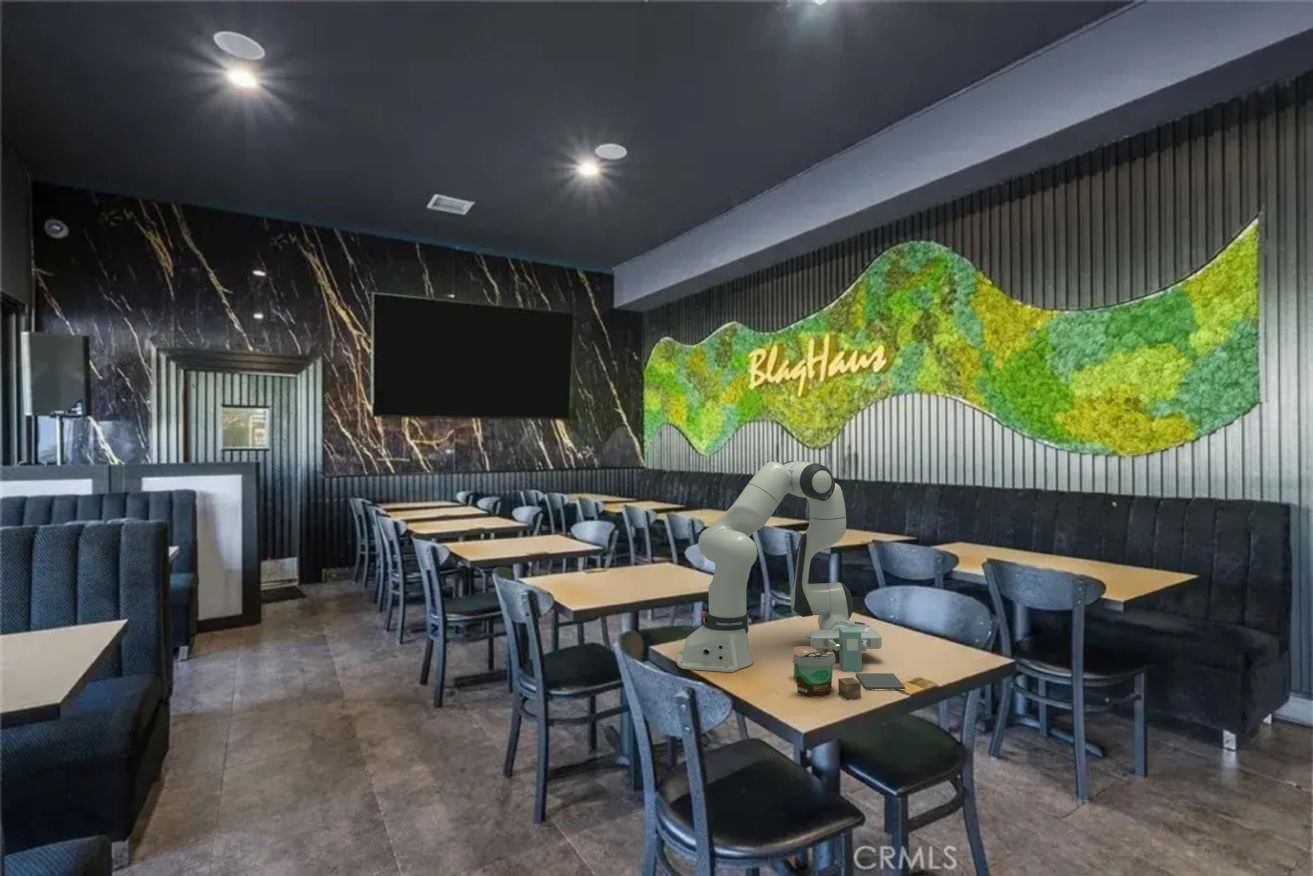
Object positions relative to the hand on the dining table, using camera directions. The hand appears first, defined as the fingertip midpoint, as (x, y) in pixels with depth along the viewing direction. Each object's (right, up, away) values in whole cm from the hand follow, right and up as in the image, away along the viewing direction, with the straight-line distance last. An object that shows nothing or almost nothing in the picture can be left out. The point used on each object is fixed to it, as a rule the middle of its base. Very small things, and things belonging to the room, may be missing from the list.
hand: (850, 648), depth 182 cm
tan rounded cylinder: (-14, -6, -6) cm, 17 cm away
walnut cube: (-6, -6, -19) cm, 21 cm away
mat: (+5, -6, -10) cm, 13 cm away
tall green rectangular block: (0, -6, +1) cm, 6 cm away
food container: (-13, -6, -16) cm, 22 cm away
